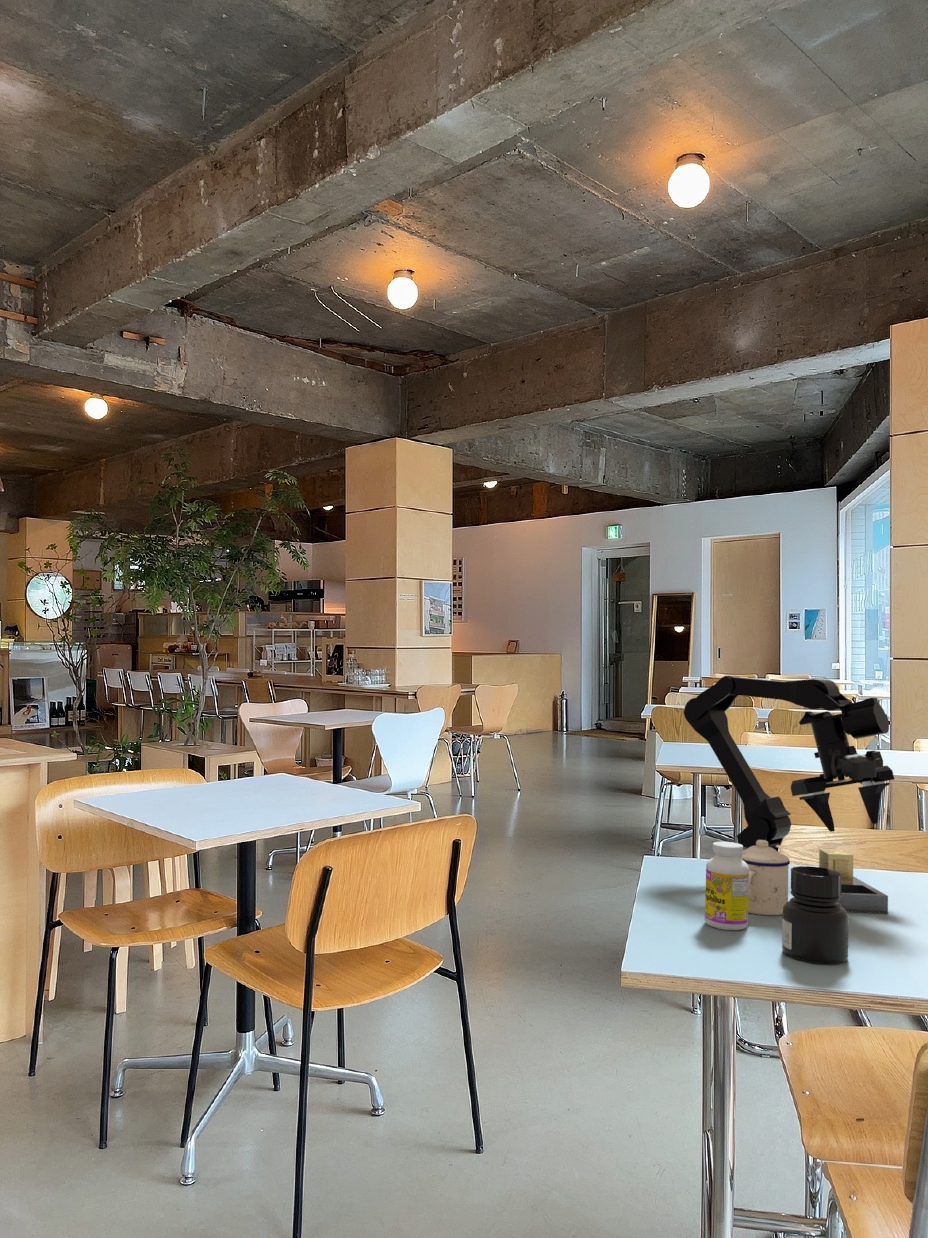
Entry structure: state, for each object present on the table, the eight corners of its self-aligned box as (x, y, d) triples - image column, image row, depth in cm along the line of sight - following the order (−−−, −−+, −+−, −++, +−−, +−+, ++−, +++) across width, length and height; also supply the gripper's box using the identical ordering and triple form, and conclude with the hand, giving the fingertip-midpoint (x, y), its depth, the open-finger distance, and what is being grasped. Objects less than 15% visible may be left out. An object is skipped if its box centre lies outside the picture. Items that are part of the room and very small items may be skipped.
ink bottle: (799, 942, 137) (800, 861, 138) (858, 956, 131) (859, 872, 132) (770, 955, 130) (771, 870, 131) (831, 971, 124) (832, 882, 125)
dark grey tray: (834, 911, 156) (835, 894, 156) (804, 890, 171) (804, 874, 171) (887, 913, 156) (888, 896, 156) (852, 892, 171) (852, 876, 171)
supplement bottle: (696, 921, 147) (697, 841, 148) (730, 918, 149) (731, 839, 150) (722, 933, 141) (723, 849, 141) (757, 930, 143) (758, 847, 144)
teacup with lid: (745, 899, 162) (746, 833, 163) (796, 909, 157) (797, 841, 157) (718, 912, 153) (719, 842, 154) (772, 923, 147) (773, 850, 148)
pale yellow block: (829, 882, 165) (829, 854, 165) (818, 875, 170) (818, 848, 170) (854, 883, 165) (854, 855, 165) (842, 876, 170) (842, 849, 170)
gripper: (813, 744, 162) (836, 833, 158) (902, 731, 167) (926, 817, 163) (780, 752, 173) (800, 836, 169) (864, 740, 177) (885, 821, 173)
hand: (853, 827), depth 168 cm, fingers open, 9 cm apart
